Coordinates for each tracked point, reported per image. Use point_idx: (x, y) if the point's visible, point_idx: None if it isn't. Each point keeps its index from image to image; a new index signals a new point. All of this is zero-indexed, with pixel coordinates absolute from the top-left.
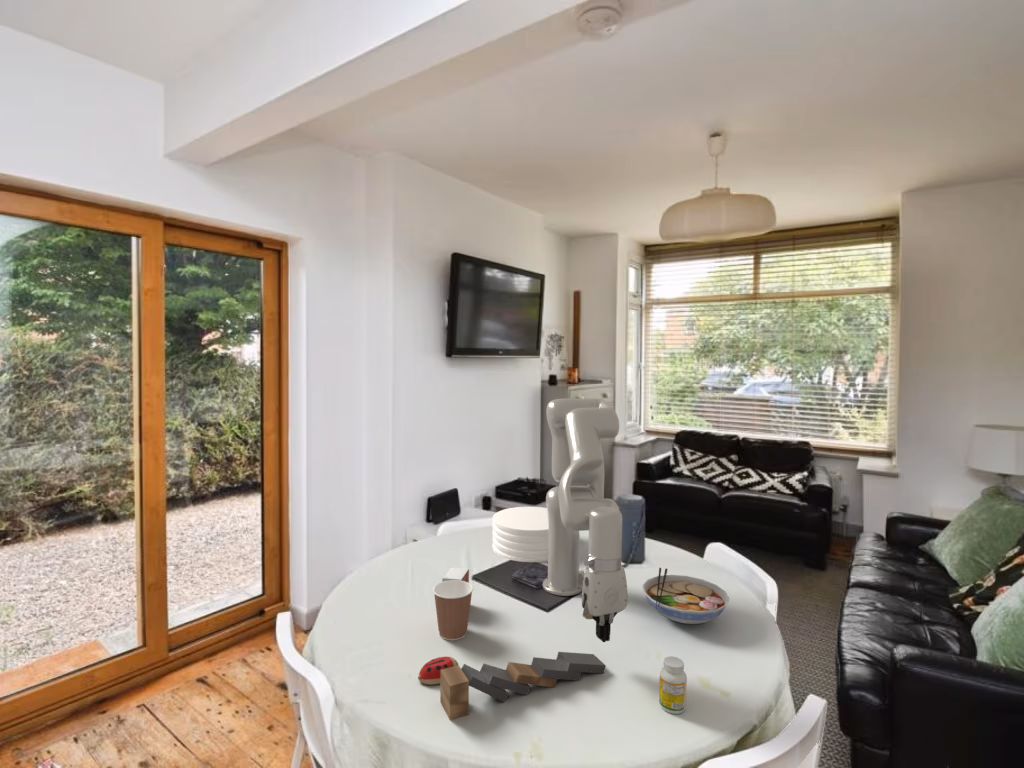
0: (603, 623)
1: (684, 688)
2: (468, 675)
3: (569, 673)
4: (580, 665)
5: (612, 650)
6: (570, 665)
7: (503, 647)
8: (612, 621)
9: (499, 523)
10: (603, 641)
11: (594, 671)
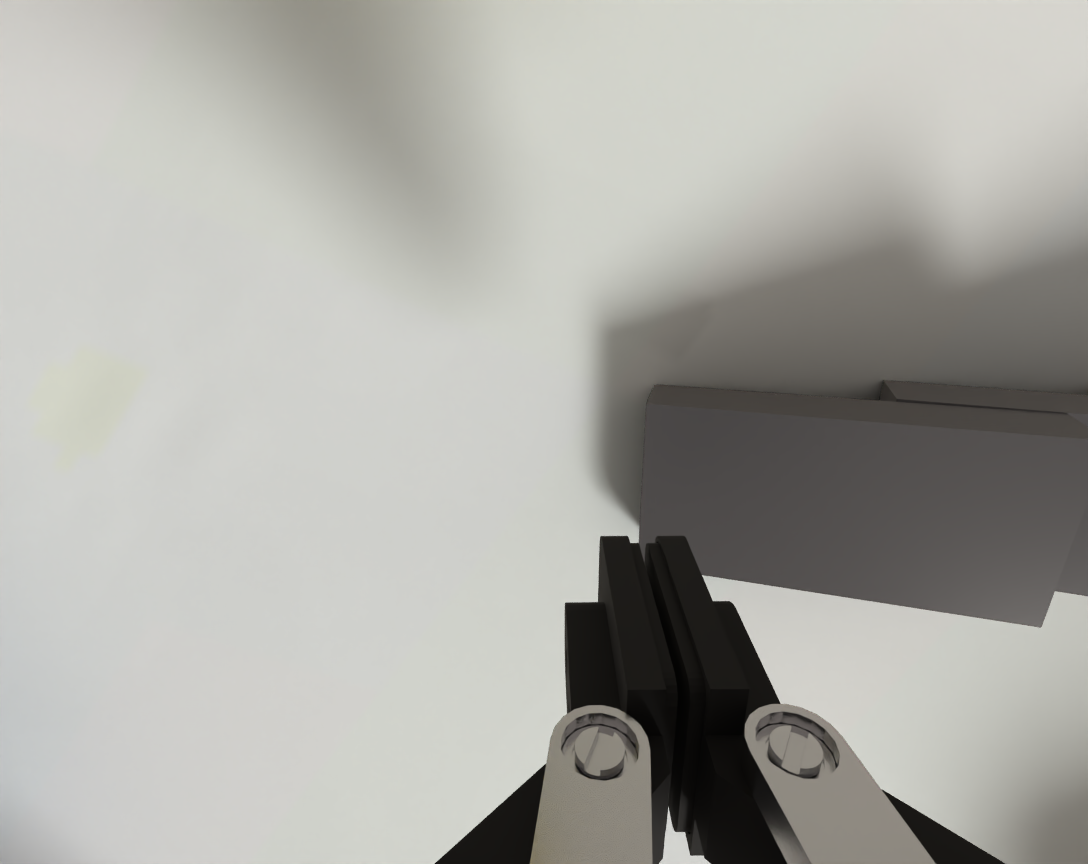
0: (754, 740)
1: None
2: None
3: (1031, 404)
4: (945, 422)
5: (419, 586)
6: (1081, 430)
7: (1030, 829)
8: (561, 735)
9: None
10: (683, 544)
11: (751, 394)
